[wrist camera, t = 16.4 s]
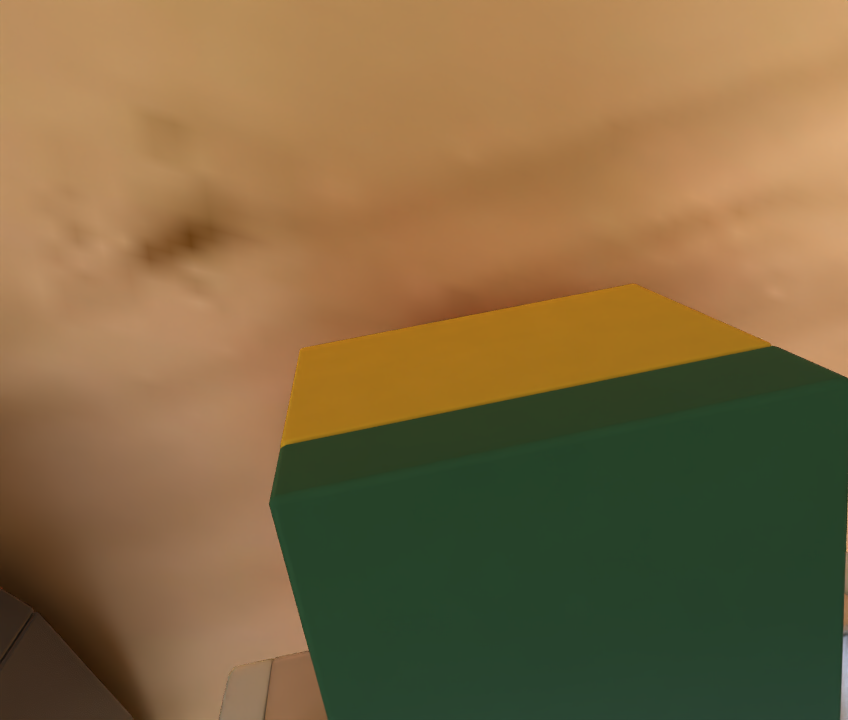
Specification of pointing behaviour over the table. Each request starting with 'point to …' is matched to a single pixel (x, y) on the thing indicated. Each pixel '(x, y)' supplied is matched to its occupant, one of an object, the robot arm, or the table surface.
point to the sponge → (567, 517)
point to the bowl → (46, 672)
